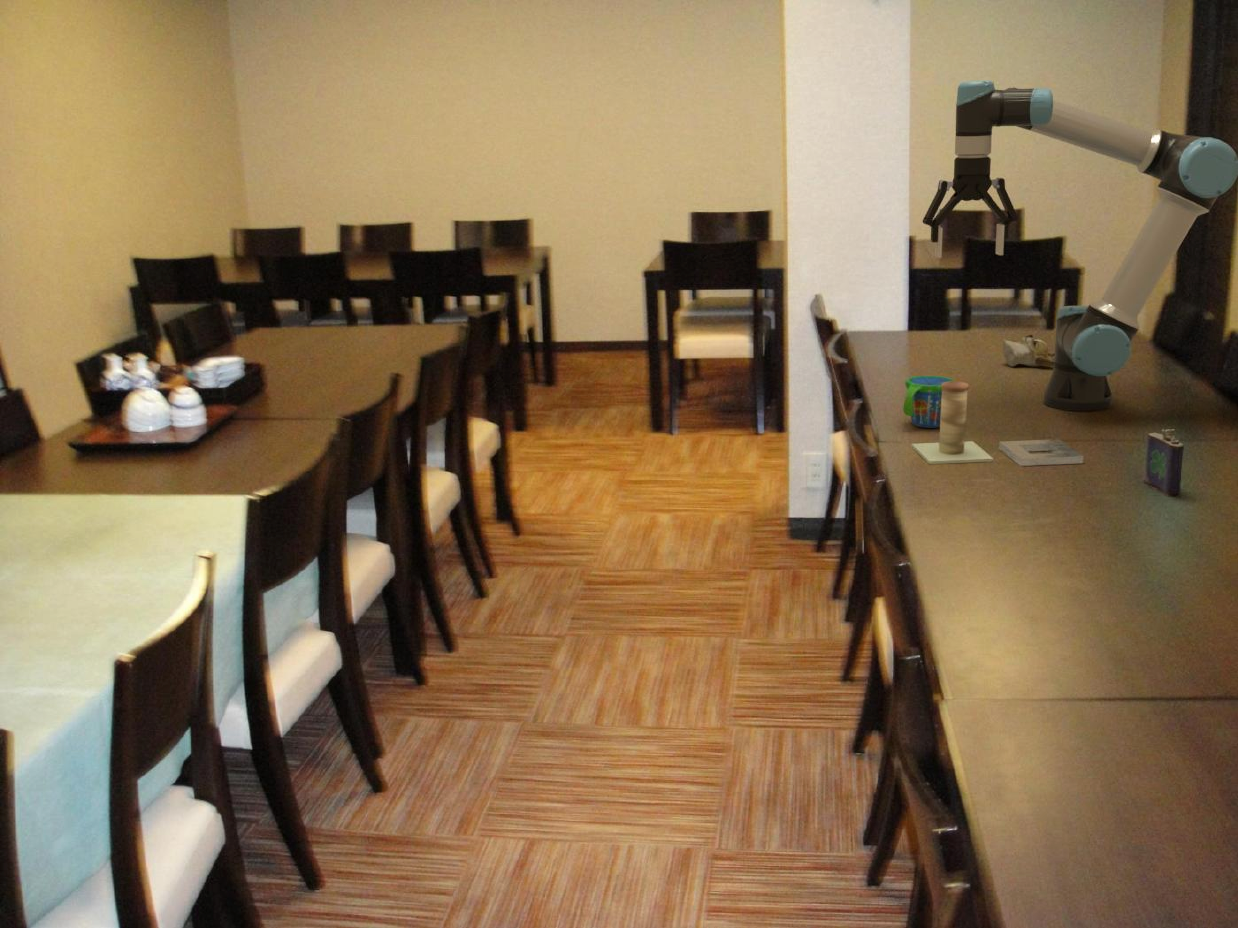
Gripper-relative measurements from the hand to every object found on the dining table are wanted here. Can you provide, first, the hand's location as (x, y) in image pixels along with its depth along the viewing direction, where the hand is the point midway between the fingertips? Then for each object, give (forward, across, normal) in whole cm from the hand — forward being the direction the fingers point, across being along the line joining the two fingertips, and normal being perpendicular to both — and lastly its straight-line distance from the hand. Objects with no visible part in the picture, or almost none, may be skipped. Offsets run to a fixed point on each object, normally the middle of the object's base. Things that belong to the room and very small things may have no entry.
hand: (968, 256), depth 280 cm
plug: (+36, +11, +28) cm, 47 cm away
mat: (+36, +11, +28) cm, 47 cm away
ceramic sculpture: (+37, -34, -49) cm, 70 cm away
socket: (+37, -6, +32) cm, 49 cm away
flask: (+37, -20, +56) cm, 70 cm away
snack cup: (+37, +9, +5) cm, 38 cm away
